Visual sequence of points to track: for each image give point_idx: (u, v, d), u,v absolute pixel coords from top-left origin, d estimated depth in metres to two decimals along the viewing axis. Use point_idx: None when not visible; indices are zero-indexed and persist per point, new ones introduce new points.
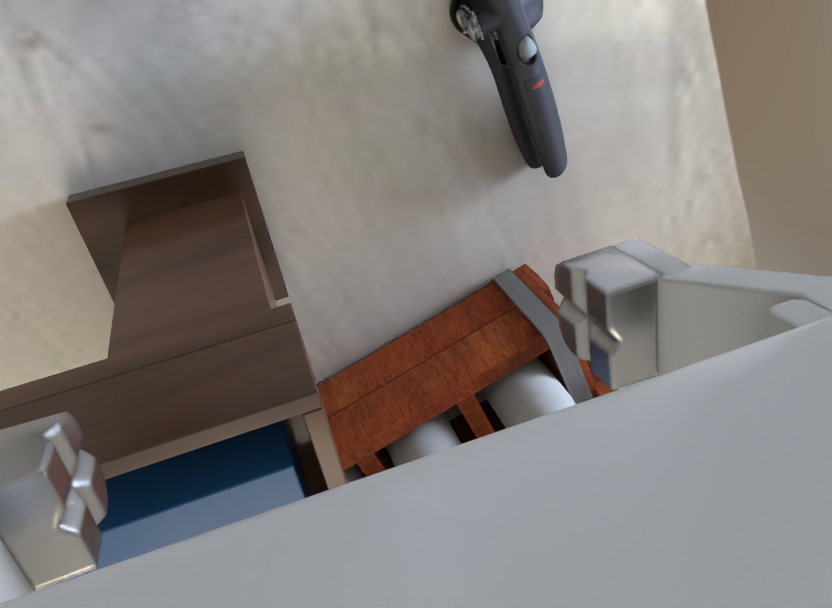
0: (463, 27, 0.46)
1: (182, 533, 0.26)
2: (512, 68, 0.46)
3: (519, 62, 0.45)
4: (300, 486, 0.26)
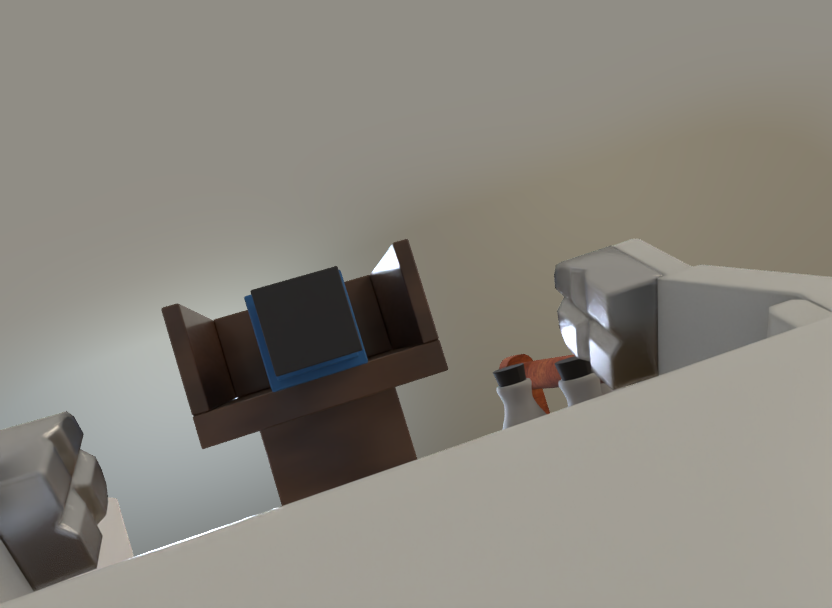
0: None
1: None
2: None
3: None
4: None
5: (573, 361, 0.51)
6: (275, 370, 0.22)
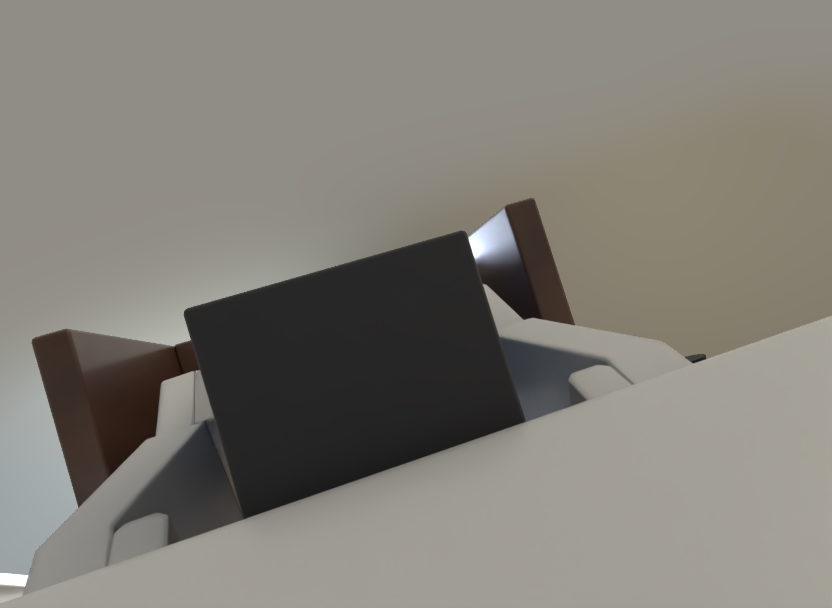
0: None
1: None
2: None
3: None
4: None
5: None
6: None
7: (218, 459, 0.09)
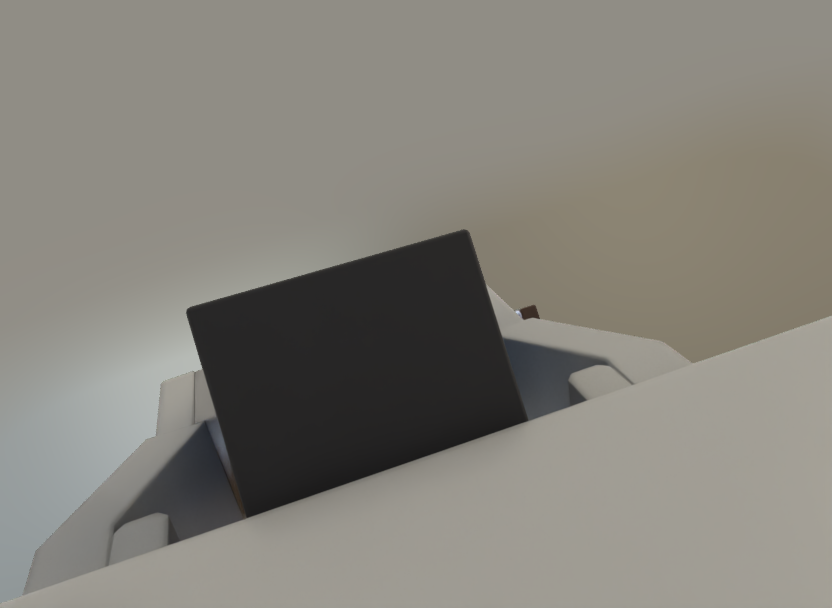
0: None
1: None
2: None
3: None
4: None
5: None
6: None
7: (218, 459, 0.09)
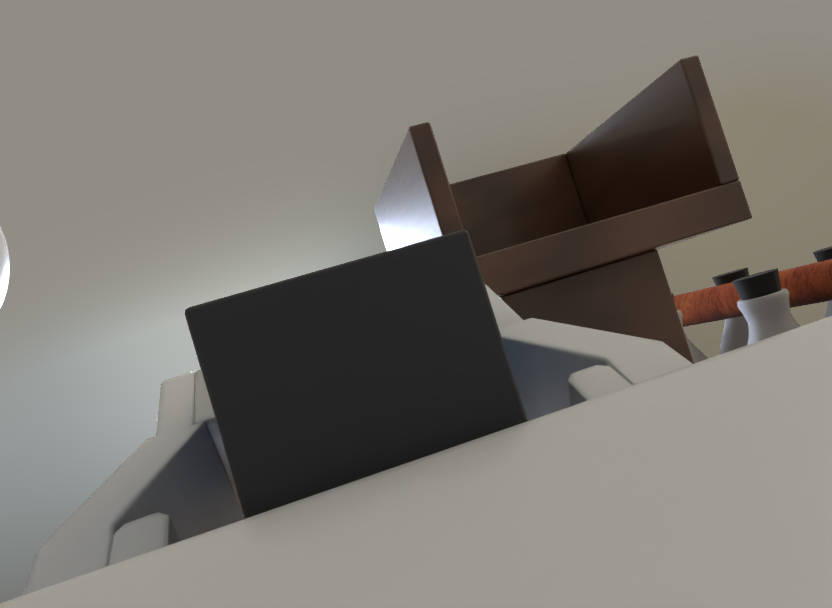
0: None
1: None
2: None
3: None
4: None
5: (762, 275, 0.44)
6: None
7: (218, 459, 0.09)
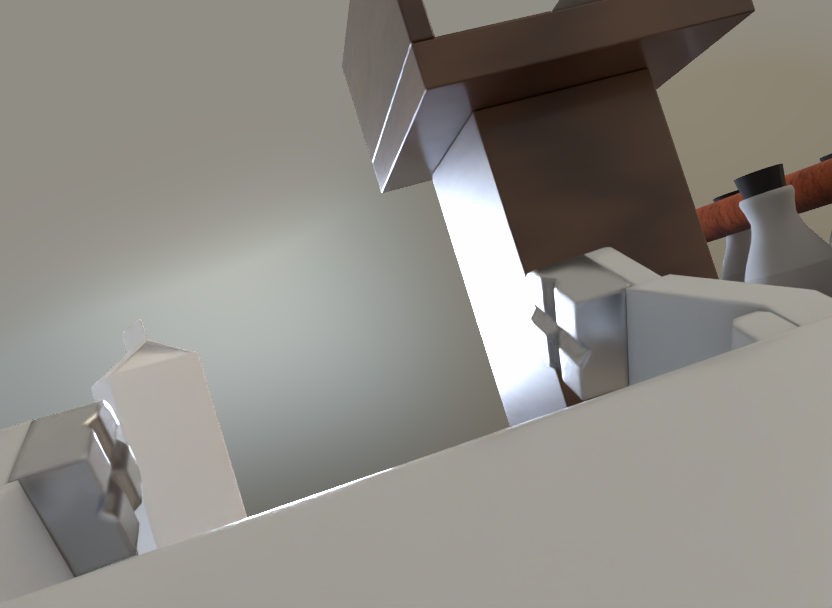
0: None
1: None
2: None
3: None
4: None
5: (765, 169, 0.41)
6: None
7: (39, 517, 0.09)
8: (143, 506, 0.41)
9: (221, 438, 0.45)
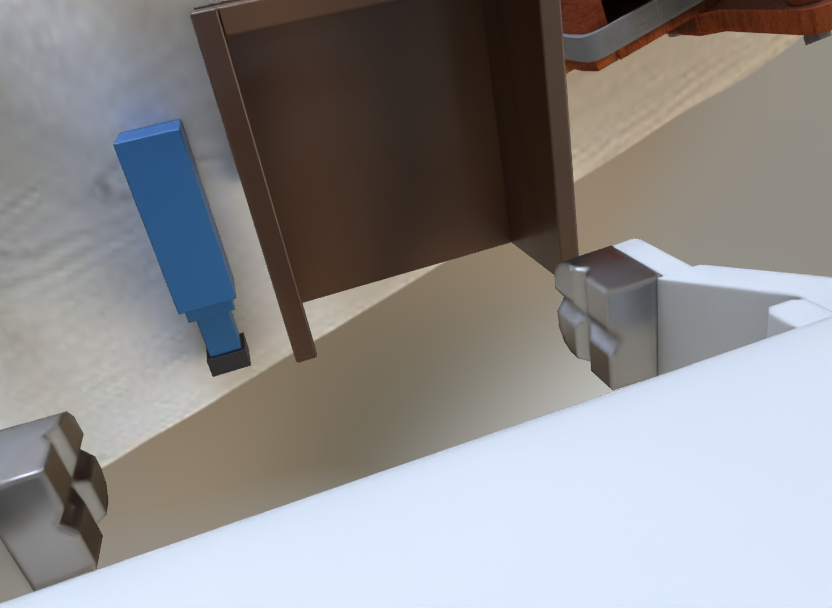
0: None
1: (162, 209, 0.45)
2: None
3: None
4: (132, 140, 0.43)
5: None
6: None
7: None
8: None
9: None
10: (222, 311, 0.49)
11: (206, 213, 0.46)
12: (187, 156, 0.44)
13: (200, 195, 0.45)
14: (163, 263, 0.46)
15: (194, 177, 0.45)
